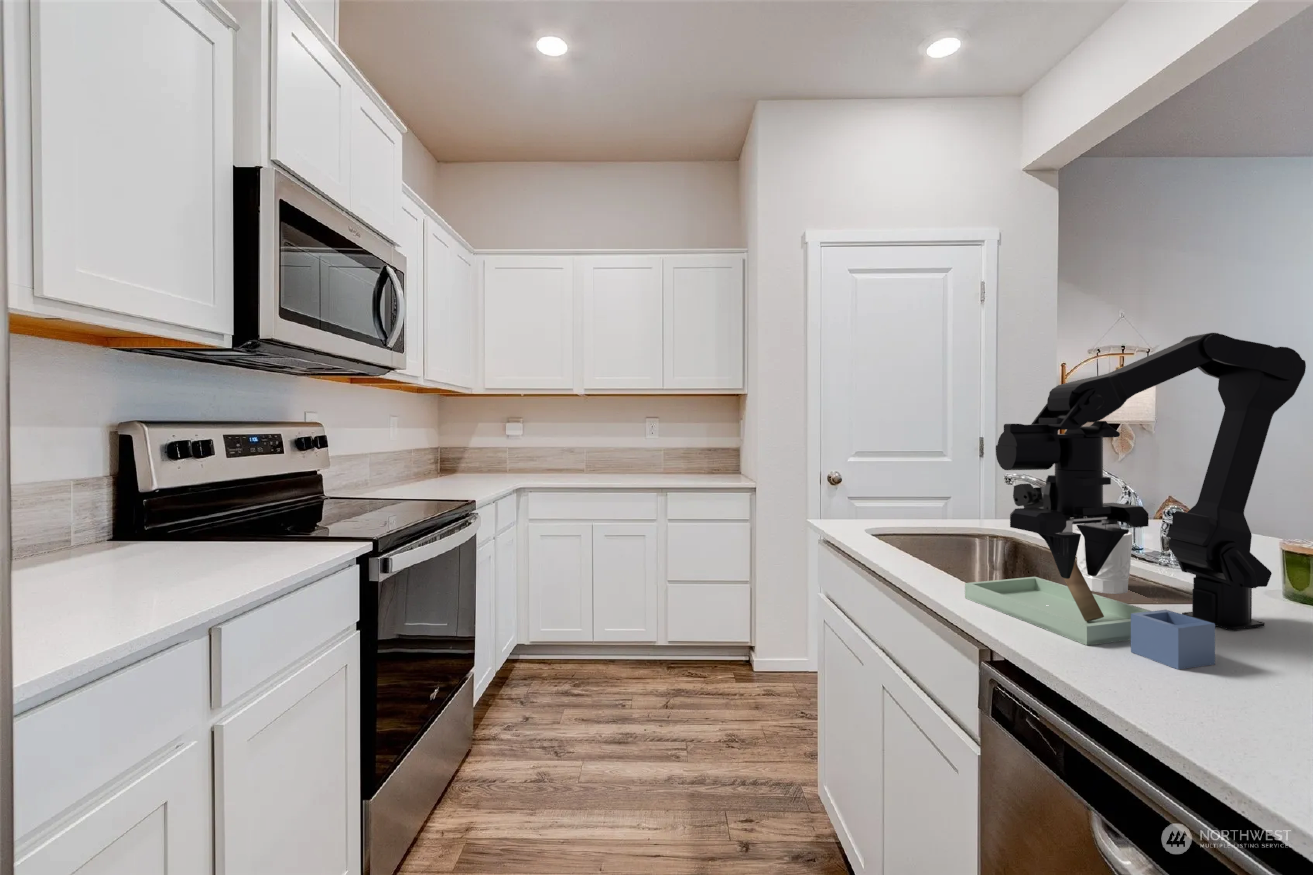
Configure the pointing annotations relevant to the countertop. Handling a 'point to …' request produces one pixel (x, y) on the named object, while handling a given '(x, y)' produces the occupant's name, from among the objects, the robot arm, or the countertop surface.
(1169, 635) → the slate blue cup
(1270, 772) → the countertop surface
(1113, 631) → the sage tray
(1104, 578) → the white cup
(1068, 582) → the walnut dowel
